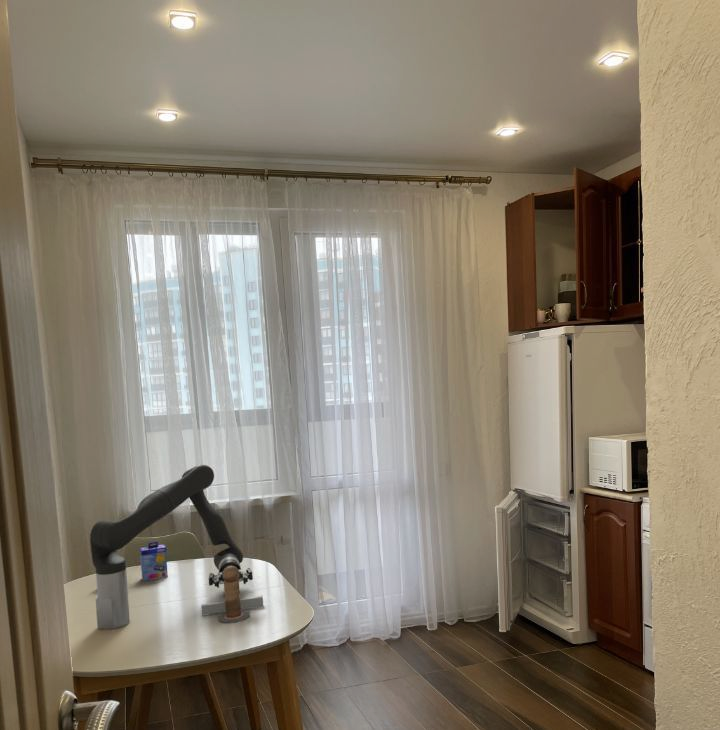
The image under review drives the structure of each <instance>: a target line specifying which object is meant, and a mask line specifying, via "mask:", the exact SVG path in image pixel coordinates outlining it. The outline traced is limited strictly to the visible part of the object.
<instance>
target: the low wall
mask: <svg viewBox="0 0 720 730" xmlns="http://www.w3.org/2000/svg"><path fill="white" fill-rule="evenodd" d="M240 604H241V610H246V609H247V610H248V609H253V608H259V607H264V596H263V595H258V596H251V597H245V598H244V597H243V598H240ZM200 607H201V616H205V615H206V616H207V615H212V614H213V615H214V614H218V613H220V614H221V613H225V612H226V609H225V600H223V601H216V602H209V603H202V604H201V606H200Z"/></svg>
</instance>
